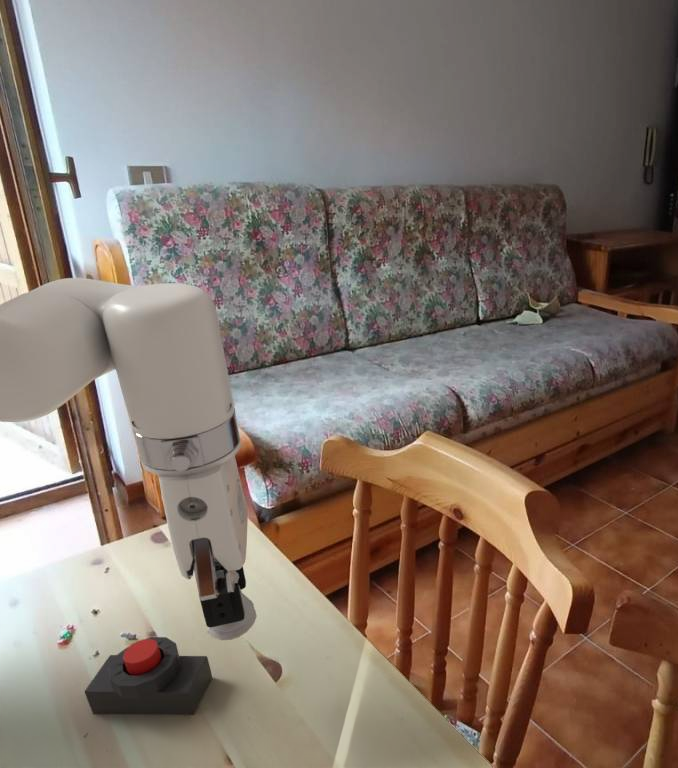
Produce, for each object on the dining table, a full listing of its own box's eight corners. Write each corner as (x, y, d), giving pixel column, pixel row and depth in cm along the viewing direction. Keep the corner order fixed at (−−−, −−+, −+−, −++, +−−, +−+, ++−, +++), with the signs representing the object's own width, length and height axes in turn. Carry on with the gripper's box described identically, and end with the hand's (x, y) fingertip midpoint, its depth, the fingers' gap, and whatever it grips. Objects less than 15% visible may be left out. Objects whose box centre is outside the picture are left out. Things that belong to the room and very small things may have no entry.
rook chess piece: (215, 651, 57) (198, 583, 54) (201, 621, 61) (184, 556, 57) (264, 627, 60) (251, 562, 57) (248, 600, 63) (235, 537, 60)
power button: (120, 676, 61) (116, 663, 60) (137, 651, 64) (133, 638, 63) (151, 676, 61) (147, 663, 60) (167, 651, 64) (163, 638, 63)
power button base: (87, 721, 62) (73, 685, 59) (121, 670, 67) (109, 636, 65) (190, 722, 62) (180, 686, 60) (215, 671, 67) (207, 637, 65)
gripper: (233, 483, 46) (270, 664, 53) (241, 389, 60) (269, 543, 67) (116, 501, 43) (172, 688, 51) (153, 399, 57) (192, 557, 65)
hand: (227, 604), depth 59 cm, fingers closed on rook chess piece, 3 cm apart
